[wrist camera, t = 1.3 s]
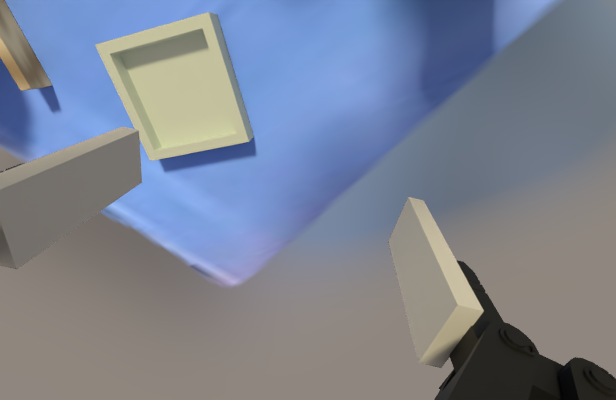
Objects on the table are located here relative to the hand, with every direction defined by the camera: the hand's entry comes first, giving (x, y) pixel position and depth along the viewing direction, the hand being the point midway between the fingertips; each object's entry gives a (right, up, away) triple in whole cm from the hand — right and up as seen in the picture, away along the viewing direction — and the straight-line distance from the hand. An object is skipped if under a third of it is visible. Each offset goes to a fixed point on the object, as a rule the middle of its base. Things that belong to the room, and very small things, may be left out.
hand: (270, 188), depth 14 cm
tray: (-14, +13, +22) cm, 29 cm away
